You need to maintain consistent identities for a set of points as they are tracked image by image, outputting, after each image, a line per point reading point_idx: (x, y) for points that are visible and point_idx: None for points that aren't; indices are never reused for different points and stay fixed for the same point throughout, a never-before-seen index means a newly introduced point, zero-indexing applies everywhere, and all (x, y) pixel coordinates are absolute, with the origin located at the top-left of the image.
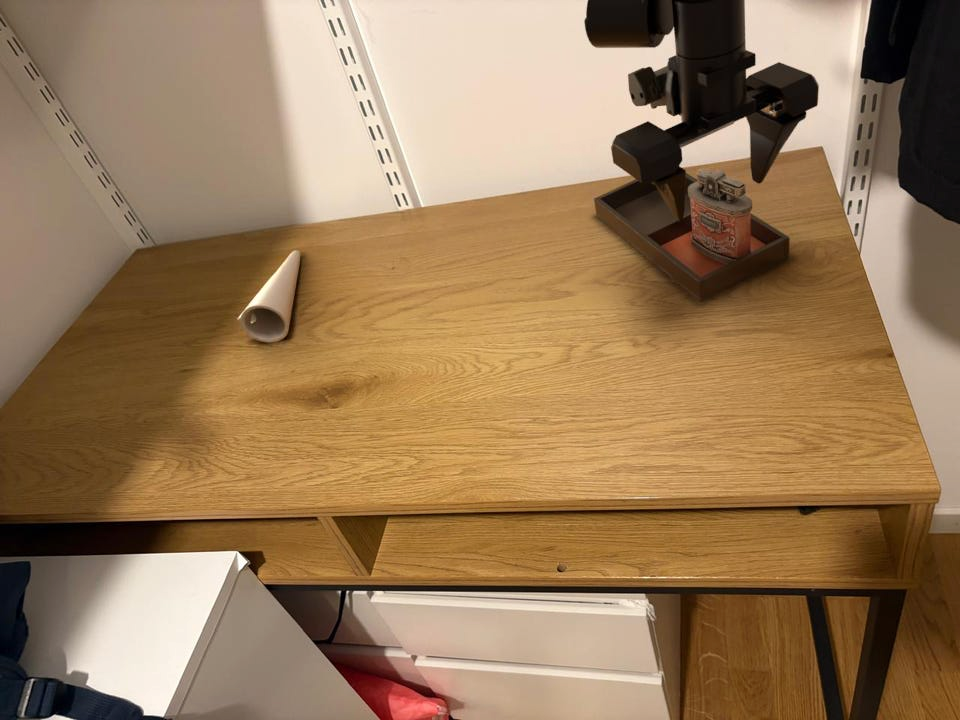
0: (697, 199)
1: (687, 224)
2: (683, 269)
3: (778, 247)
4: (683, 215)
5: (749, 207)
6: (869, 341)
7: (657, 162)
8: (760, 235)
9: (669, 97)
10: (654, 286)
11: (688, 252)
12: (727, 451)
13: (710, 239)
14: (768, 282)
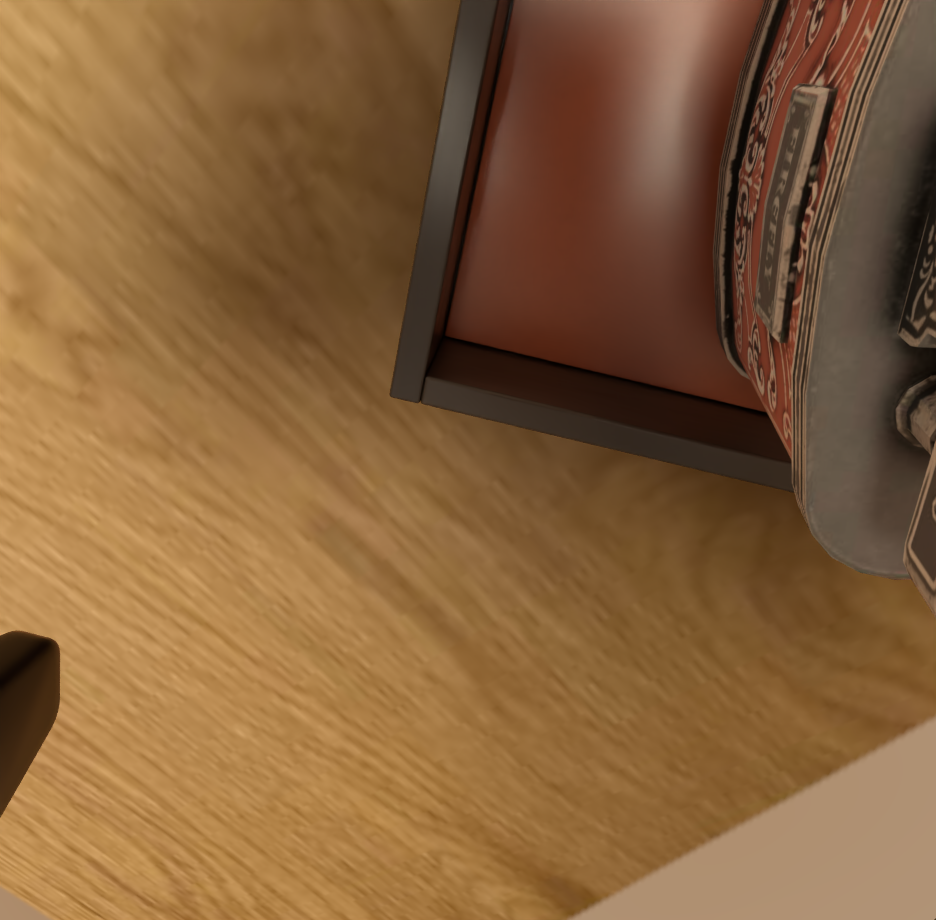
0: (864, 89)
1: None
2: (417, 248)
3: None
4: (17, 783)
5: (904, 572)
6: (608, 869)
7: None
8: None
9: None
10: (356, 47)
11: (698, 2)
12: (10, 800)
13: (754, 183)
14: (713, 494)
